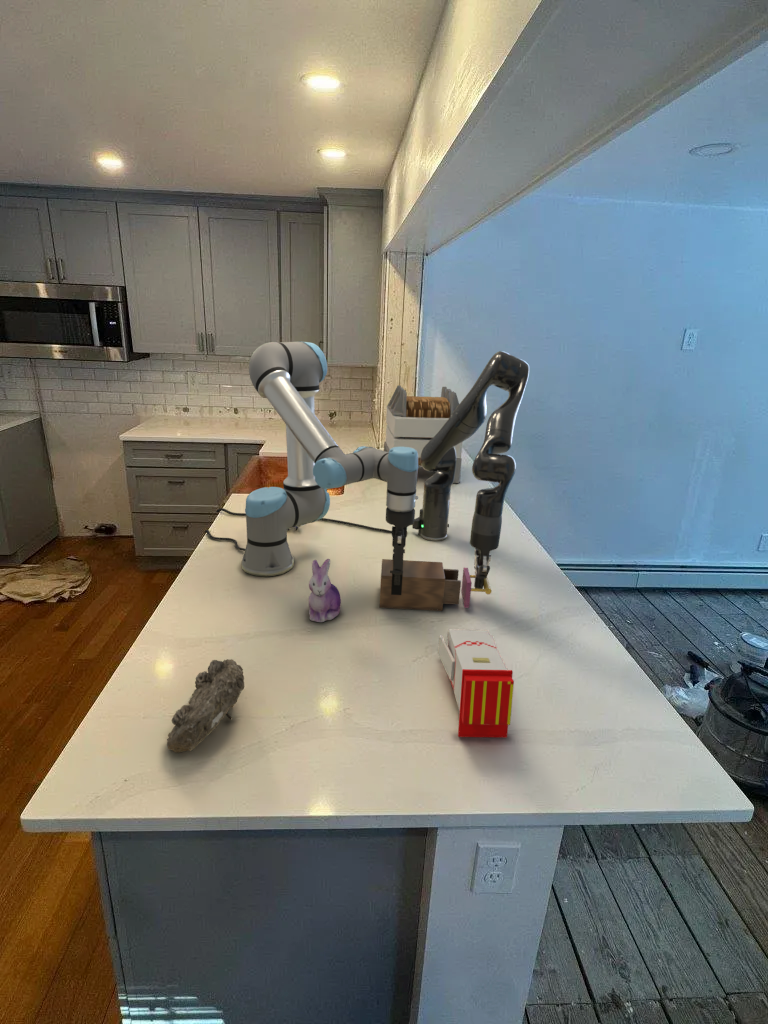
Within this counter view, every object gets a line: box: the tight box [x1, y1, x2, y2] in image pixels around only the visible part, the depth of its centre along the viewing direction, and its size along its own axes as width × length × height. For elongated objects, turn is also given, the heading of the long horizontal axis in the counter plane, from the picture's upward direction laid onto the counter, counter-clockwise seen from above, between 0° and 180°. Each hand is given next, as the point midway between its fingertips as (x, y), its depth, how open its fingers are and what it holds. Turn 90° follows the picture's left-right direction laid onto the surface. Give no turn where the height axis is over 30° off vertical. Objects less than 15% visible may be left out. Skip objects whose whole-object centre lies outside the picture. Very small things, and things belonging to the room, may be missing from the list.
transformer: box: [383, 384, 464, 484], centre depth 268 cm, size 34×33×41 cm
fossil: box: [166, 658, 245, 754], centre depth 106 cm, size 22×10×15 cm
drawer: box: [443, 567, 493, 609], centre depth 153 cm, size 21×9×8 cm, turn 88°
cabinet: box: [379, 558, 445, 612], centre depth 153 cm, size 17×10×9 cm, turn 88°
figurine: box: [308, 558, 342, 623], centre depth 143 cm, size 9×10×15 cm
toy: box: [437, 628, 515, 738], centre depth 117 cm, size 12×13×30 cm
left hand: (396, 584), depth 154 cm, fingers closed on cabinet, 10 cm apart
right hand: (478, 588), depth 153 cm, fingers closed
